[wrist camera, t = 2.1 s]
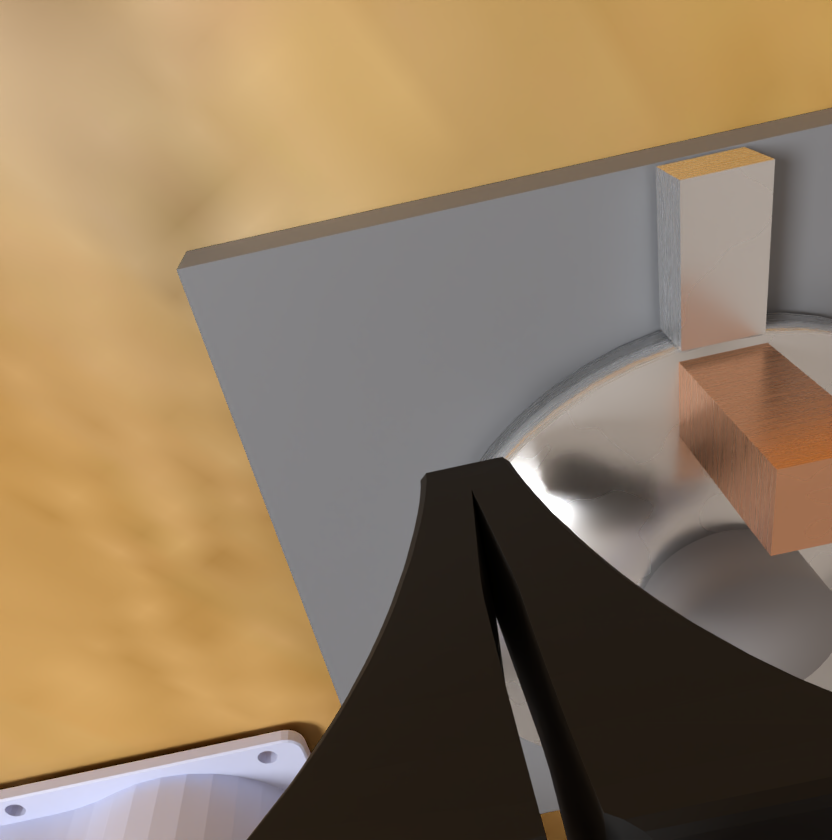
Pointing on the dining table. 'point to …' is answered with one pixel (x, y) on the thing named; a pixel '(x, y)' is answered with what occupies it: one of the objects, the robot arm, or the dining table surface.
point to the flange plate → (630, 388)
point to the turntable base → (483, 372)
